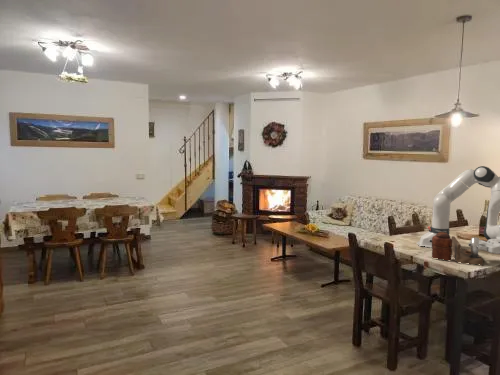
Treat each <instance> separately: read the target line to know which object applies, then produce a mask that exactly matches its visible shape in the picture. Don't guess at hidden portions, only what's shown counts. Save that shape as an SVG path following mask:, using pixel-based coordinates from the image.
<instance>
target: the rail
mask: <svg viewBox="0 0 500 375" xmlns="http://www.w3.org/2000/svg"><path fill="white" fill-rule="evenodd" d="M451 239H452V247H451V248H452V255H453V256H452V257H454V258H455V259H454V258H453V259H454V261H455V260H456V261H457V262H461V263H469V264H468V265H471V264H480V265H479V266H483V262H484V261H483V260H484V259H483V258H482V256H480V254H479V253H478V258H474V257H471V248H461V243H460V242H459V241H458V239H457V238H456V237H455V236H453V235H452V236H451ZM456 261H455V262H456Z"/></svg>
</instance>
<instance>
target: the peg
mask: <svg viewBox="0 0 500 375" xmlns="http://www.w3.org/2000/svg"><path fill="white" fill-rule="evenodd" d="M470 240H471V247H470V249H471V257H474V258H478V254H479V250H478V249H477V247H478V246H479V240H480V238H479V237H476V236H474V237H473V236H472V237H471V239H470Z"/></svg>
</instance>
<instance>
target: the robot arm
mask: <svg viewBox="0 0 500 375" xmlns="http://www.w3.org/2000/svg"><path fill="white" fill-rule="evenodd" d="M475 184H477V185H479V186H482V187H485V188H490V201H489V204H488V206H487V211H486V219H485V221H486V222H485V227H484V229H483V236H484V238H485V240H483V239H479V246H478V247H477V249H478V251H479V250H480V251H485V252H488V253H490V254H496V255H497V254H499V255H500V224H499V223H498V217H499V214H500V176H498V175H497V174H496V172H495V171H493V170H492V169H491V168H490V167H488V166H485V165H483V166H482V165H479V166H478V167H476V168H475V169H472V168H471V169H470V168H468V169H465V170H464V171H463V172H461V173H460V174H459V175H457V176H456V177H455V178H454V179H453V180H452V181H451V182H449V183H448V184H447V185H446V186H445V187H444V188H442V189H441V190H440V191H439V192H438V193H436V194H435V195H434V196H433V198H432V217H431V218H432V220H431V226H430V225H429V226H427V229H428V231H427V232H426V233H424V234H422V235H421V237H420V239H419V240H418V241H416V245H417V244H418V245H419V246H418V245H417V246H418V247H420V246H425V247H424V248H427V247H432V237H433V236H435V235H436V234H437V233H440V232H445V233H447V234H449V235H450V232H451V231H450V216H451V215H450V212H451V203H453V202H454V201H455V200H456V199H458V198H460V197H461V196H462V195H463V194H464V193H465V192H466V191H467V190H469V189H470V188H471V187H472V186H473V185H475ZM486 240H487V241H486ZM467 245H468V247H470V248H471V239H470V240H469V243H467Z"/></svg>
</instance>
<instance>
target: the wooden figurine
mask: <svg viewBox="0 0 500 375" xmlns="http://www.w3.org/2000/svg"><path fill="white" fill-rule="evenodd" d="M451 247H452V237H451V235H450V233H449V234H447V233H445V232H440V233H437V234H436V235H435V236H433V237H432V248H431V258H432V257H433V258H438V259H444V260H451V261H452V257H453V256H452V248H451ZM433 258H432V259H433ZM444 260H443V261H444Z"/></svg>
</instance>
